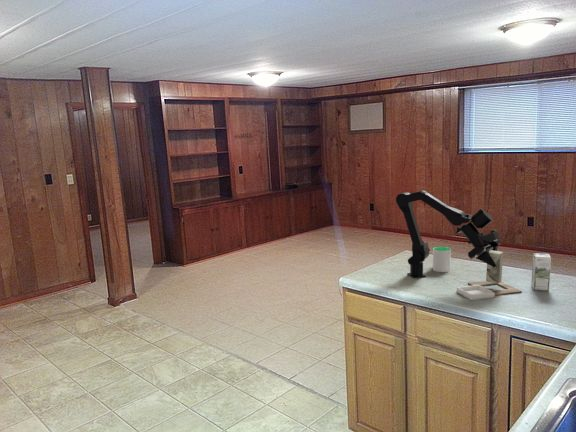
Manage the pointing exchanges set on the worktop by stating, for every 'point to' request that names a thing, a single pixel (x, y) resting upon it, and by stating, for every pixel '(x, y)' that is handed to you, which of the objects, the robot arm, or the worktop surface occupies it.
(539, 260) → the syrup box
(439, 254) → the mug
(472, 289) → the white tray
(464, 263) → the worktop surface
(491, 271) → the box
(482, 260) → the robot arm
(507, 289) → the walnut frame
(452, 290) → the worktop surface
